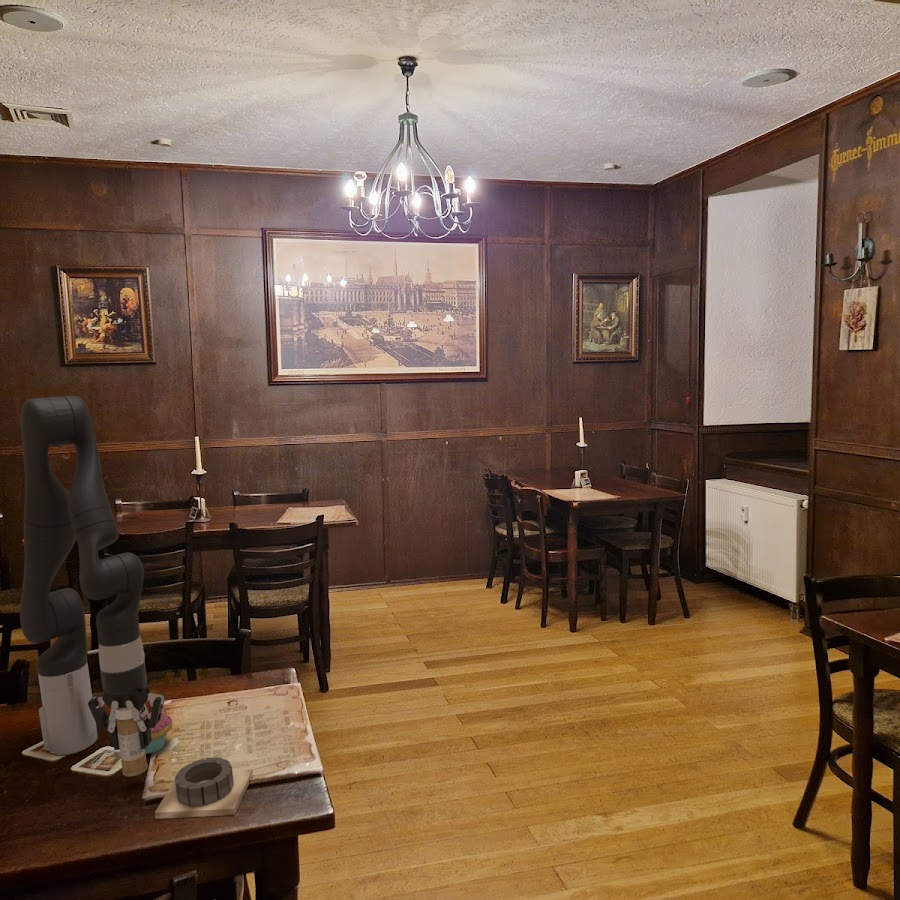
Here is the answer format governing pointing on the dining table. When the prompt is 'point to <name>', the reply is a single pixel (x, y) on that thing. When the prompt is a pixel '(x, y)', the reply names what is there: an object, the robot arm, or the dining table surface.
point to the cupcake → (159, 733)
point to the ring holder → (205, 790)
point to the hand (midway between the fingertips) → (132, 746)
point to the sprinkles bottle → (130, 743)
